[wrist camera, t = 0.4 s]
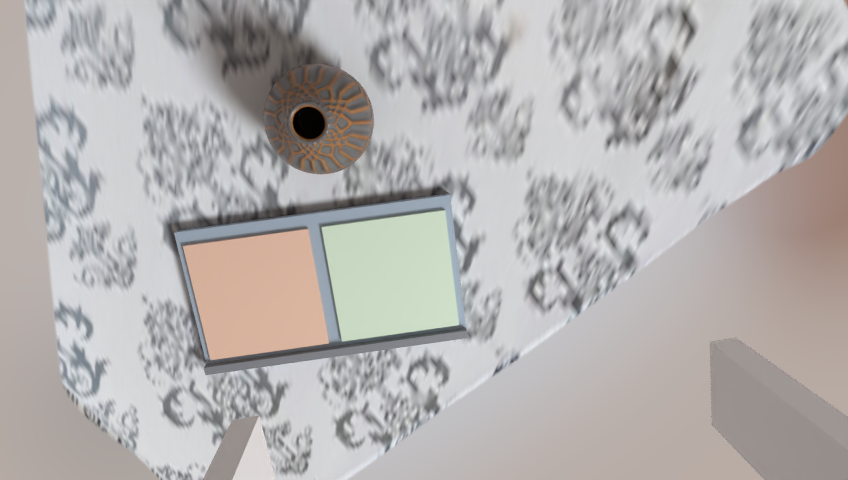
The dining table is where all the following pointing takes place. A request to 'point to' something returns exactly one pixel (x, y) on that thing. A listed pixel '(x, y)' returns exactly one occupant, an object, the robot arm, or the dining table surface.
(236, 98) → the dining table surface
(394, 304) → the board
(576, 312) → the dining table surface
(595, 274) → the dining table surface
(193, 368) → the dining table surface
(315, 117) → the vase
